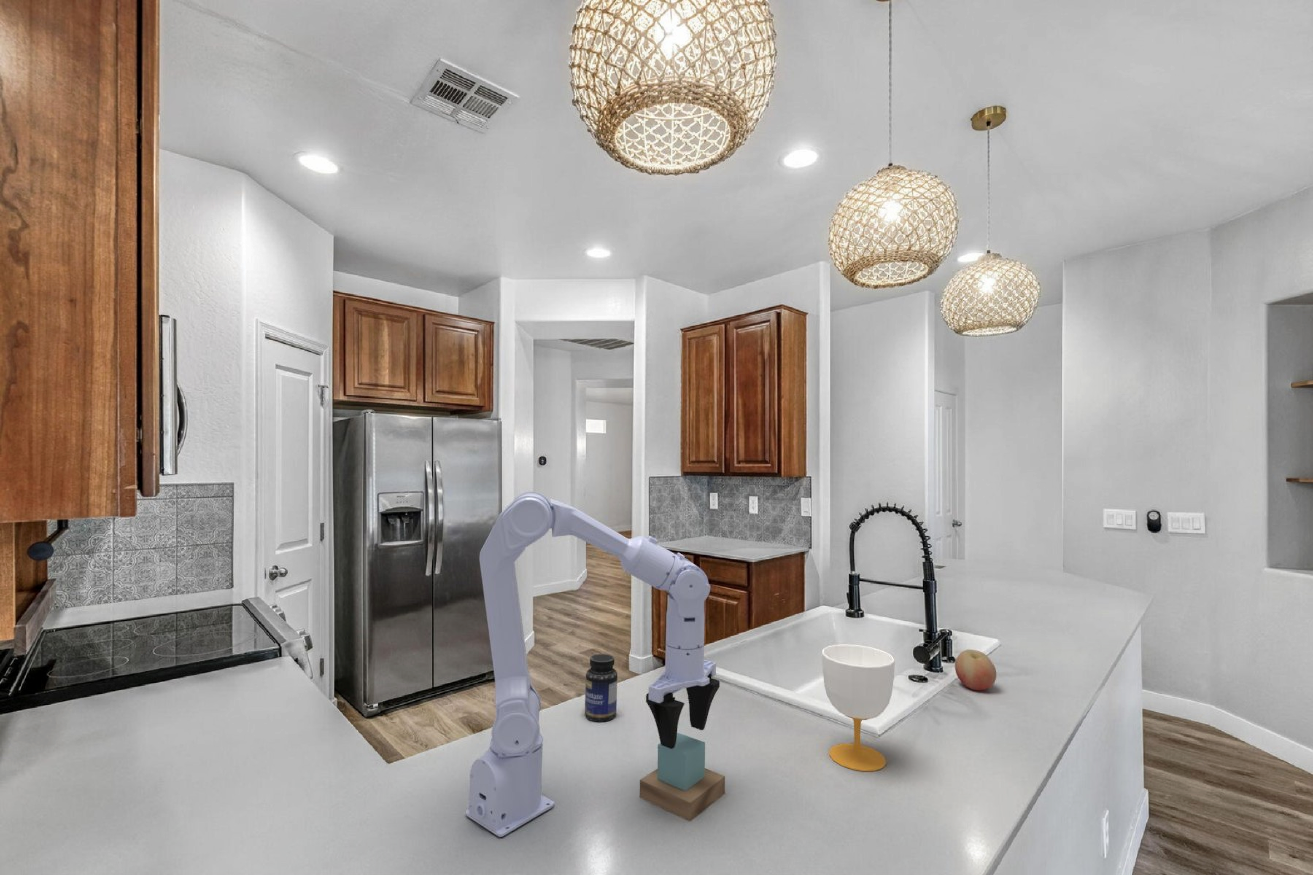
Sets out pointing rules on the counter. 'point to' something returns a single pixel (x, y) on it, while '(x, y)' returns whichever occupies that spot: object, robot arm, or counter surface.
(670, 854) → the counter surface
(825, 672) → the cup
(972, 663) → the fruit
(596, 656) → the pill bottle
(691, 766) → the teal cube
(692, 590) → the robot arm
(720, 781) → the walnut block
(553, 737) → the counter surface
